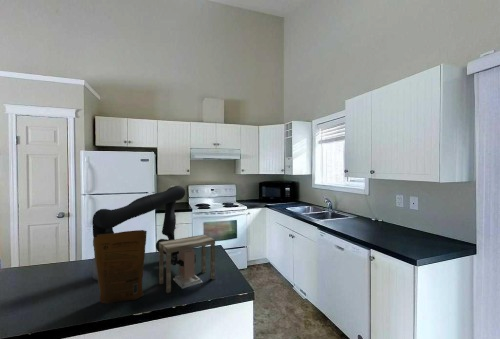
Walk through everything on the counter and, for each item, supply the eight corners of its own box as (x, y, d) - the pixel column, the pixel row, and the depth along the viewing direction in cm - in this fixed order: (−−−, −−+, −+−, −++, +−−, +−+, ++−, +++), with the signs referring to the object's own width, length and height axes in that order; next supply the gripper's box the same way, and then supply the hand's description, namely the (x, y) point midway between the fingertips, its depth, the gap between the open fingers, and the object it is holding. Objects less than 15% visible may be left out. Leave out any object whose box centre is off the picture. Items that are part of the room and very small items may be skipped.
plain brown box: (178, 273, 120) (178, 249, 120) (188, 271, 123) (188, 247, 123) (184, 278, 114) (184, 253, 114) (194, 276, 117) (194, 250, 117)
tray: (172, 279, 119) (172, 276, 119) (192, 274, 125) (192, 271, 125) (182, 288, 110) (182, 285, 110) (202, 282, 116) (202, 279, 116)
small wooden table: (159, 283, 115) (159, 242, 115) (203, 270, 129) (203, 234, 129) (167, 293, 106) (167, 248, 106) (215, 279, 119) (215, 239, 120)
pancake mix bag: (145, 300, 100) (145, 231, 100) (91, 307, 95) (92, 234, 95) (147, 292, 106) (147, 227, 106) (97, 298, 101) (97, 230, 101)
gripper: (162, 248, 126) (174, 258, 112) (188, 243, 134) (202, 252, 121) (162, 263, 126) (174, 274, 112) (188, 257, 134) (202, 267, 121)
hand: (188, 263), depth 116 cm, fingers closed on plain brown box, 5 cm apart
